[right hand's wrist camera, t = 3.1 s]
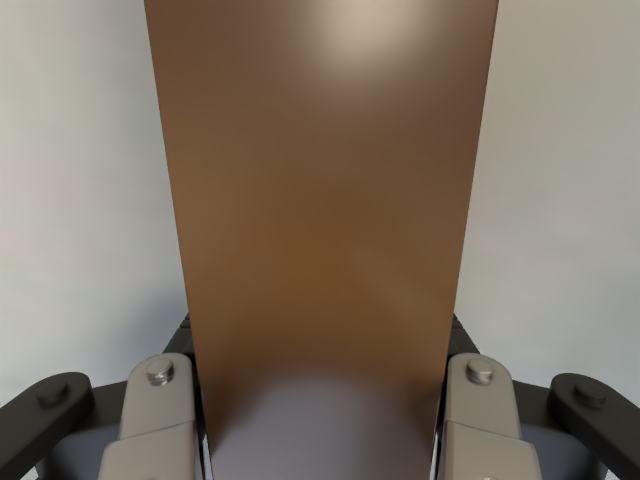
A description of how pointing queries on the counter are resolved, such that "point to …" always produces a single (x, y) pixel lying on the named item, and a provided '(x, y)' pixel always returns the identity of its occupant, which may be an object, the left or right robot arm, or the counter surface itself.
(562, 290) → the counter surface
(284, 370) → the post
